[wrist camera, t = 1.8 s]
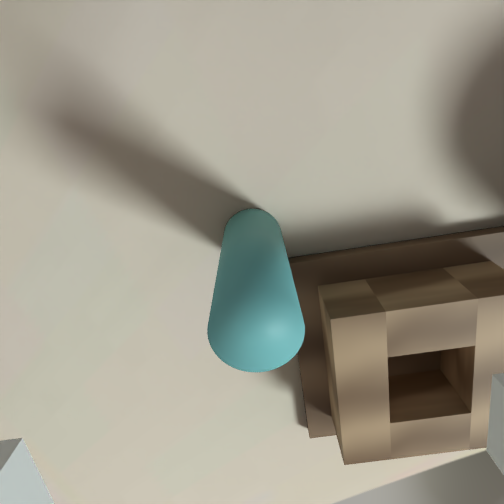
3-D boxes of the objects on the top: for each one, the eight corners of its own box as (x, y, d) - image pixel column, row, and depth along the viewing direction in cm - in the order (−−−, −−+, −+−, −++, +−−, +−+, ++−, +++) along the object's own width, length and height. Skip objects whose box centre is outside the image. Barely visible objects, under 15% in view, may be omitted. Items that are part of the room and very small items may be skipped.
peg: (219, 213, 27) (198, 296, 15) (277, 204, 26) (299, 281, 15) (229, 266, 28) (217, 378, 17) (284, 258, 28) (309, 365, 17)
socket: (284, 258, 28) (293, 294, 23) (514, 224, 27) (576, 254, 22) (308, 428, 34) (319, 488, 29) (497, 404, 33) (543, 461, 28)
